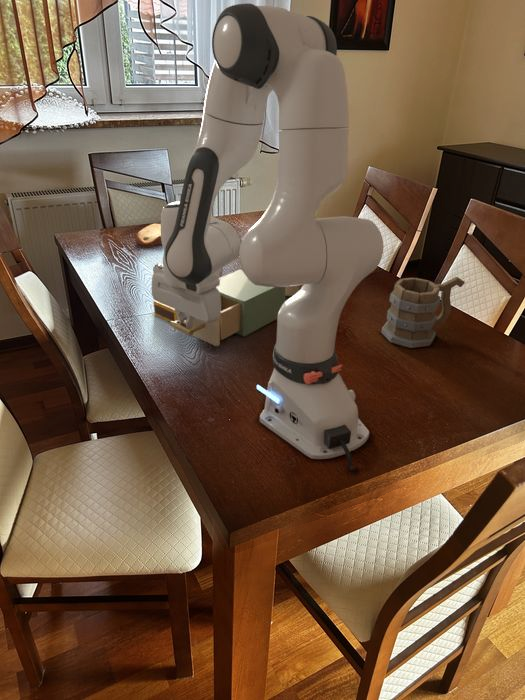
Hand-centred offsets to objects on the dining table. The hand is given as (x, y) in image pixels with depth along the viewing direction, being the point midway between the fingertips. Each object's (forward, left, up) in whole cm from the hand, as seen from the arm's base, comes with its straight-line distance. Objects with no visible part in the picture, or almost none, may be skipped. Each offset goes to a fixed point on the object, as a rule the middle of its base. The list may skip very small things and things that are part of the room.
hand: (186, 326), depth 126 cm
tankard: (-23, -56, -5) cm, 61 cm away
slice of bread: (+81, -22, -5) cm, 84 cm away
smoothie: (+29, -22, -5) cm, 37 cm away
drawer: (+3, -8, -4) cm, 9 cm away
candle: (+15, -40, -5) cm, 43 cm away
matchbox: (+16, -3, -5) cm, 17 cm away
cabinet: (+7, -20, -5) cm, 22 cm away
